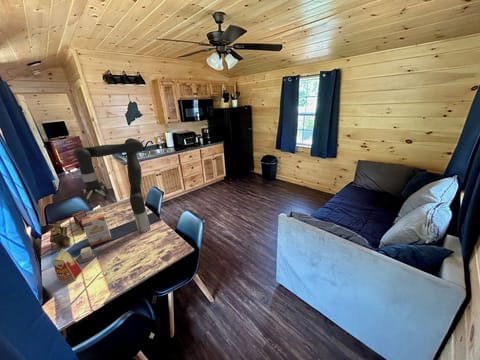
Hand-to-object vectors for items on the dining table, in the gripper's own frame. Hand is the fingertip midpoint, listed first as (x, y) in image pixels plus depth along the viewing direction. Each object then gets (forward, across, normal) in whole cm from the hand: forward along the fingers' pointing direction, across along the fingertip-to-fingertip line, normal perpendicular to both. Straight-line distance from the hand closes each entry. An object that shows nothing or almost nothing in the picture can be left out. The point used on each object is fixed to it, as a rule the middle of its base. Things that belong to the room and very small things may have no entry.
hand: (98, 201), depth 135 cm
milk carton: (+38, +23, +18) cm, 48 cm away
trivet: (+38, +16, +1) cm, 41 cm away
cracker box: (+38, +9, -14) cm, 42 cm away
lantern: (+38, +24, -50) cm, 67 cm away
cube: (+38, +16, +1) cm, 41 cm away
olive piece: (+38, +34, -24) cm, 57 cm away
